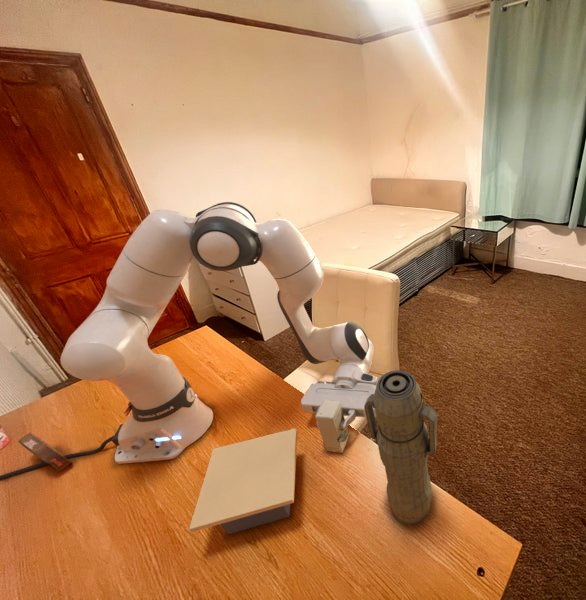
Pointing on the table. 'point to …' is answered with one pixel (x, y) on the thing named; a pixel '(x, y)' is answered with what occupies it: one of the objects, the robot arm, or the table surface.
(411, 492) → the thermos
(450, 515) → the table surface
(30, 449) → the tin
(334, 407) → the box
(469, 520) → the table surface
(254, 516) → the stand
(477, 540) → the table surface
